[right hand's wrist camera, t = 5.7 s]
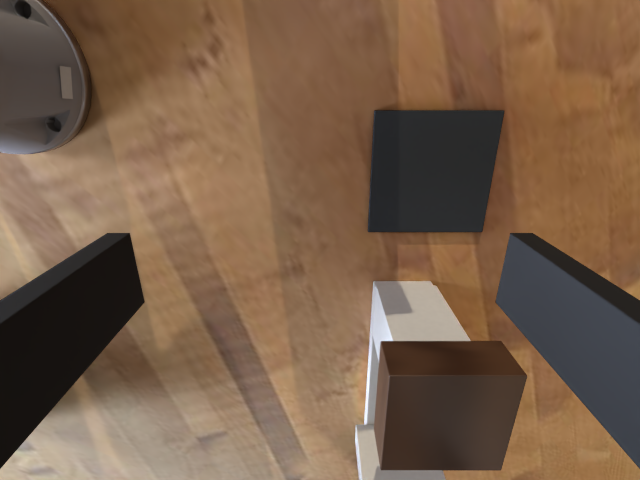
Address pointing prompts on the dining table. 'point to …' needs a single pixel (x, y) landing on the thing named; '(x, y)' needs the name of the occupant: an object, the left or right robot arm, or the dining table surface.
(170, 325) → the dining table surface
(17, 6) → the right robot arm
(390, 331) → the bracket
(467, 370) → the walnut cap
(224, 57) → the dining table surface
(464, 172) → the slate mat
